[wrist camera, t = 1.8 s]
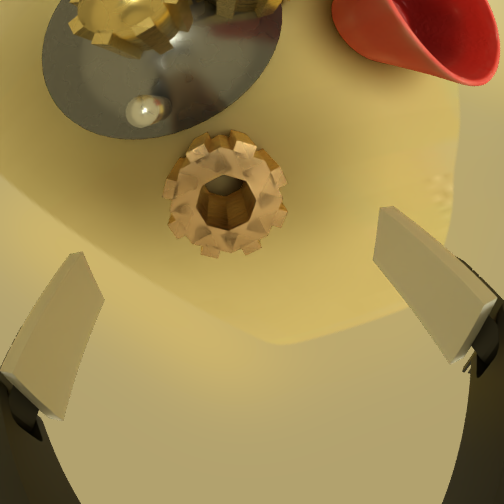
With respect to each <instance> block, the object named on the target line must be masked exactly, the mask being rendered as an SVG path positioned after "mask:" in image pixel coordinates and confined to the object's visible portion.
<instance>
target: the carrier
mask: <svg viewBox="0 0 504 504" xmlns="http://www.w3.org/2000/svg"><path fill="white" fill-rule="evenodd" d="M288 1H290V0H288ZM281 2H282V0H61V1H60V3H59V4H58V6H57V8H56V9H55V11H54V13H53V16H52V18H51V20H50V22H49V25H48V28H47V31H46V34H45V38H44V44H43V51H42V66H43V74H44V79H45V83H46V86H47V88H48V91H49V93H50V95H51V97H52V99H53V100H54V102H55V104H56V105H57V106H58V108H59V109H60V110H61V111H62V112H63V113H64V114H65V115H66V116H67V117H68V118H69V119H71V120H72V121H73V122H74V123H76V124H78V125H79V126H81V127H83V128H84V129H86V130H89V131H91V132H94V133H96V134H99V135H103V136H107V137H111V138H120V139H146V138H154V137H160V136H164V135H169V134H173V133H176V132H179V131H182V130H185V129H188V128H191V127H193V126H195V125H197V124H199V123H201V122H204V121H206V120H208V119H209V118H211V117H213V116H214V115H216V114H218V113H219V112H221V111H223V110H224V109H225V108H227V107H228V106H229V105H231V104H232V103H233V102H235V101H236V100H237V99H238V98H239V97H240V96H241V95H242V94H244V93H245V92H246V91H247V90H248V89H249V88H250V87H251V86H252V84H253V83H254V82H255V81H256V80H257V79H258V78H259V76H260V75H261V73H262V72H263V70H264V69H265V67H266V66H267V64H268V63H269V61H270V59H271V57H272V55H273V53H274V51H275V48H276V45H277V42H278V39H279V36H280V31H281V25H282V7H281Z"/></svg>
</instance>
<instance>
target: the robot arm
mask: <svg viewBox="0 0 504 504" xmlns="http://www.w3.org/2000/svg"><path fill="white" fill-rule="evenodd" d="M373 261H374V262H375V264H376V265H377V266H378V267H379V268H380V270H381V271H382V272H383V273H384V275H385V276H386V277H387V278H388V280H389V281H390V282H391V283H392V285H393V286H394V287H395V288H396V290H397V291H398V292H399V294H400V295H401V296H402V297H403V299H404V300H405V301H406V303H407V304H408V305H409V307H410V308H411V309H412V311H413V312H414V313H415V315H416V316H417V318H418V319H419V320H420V322H421V323H422V324H423V326H424V327H425V329H426V330H427V331H428V333H429V334H430V336H431V337H432V338H433V340H434V342H435V343H436V345H437V346H438V347H439V349H440V350H441V352H442V354H443V355H444V357H445V358H446V360H447V361H448V363H449V364H450V365H451V364H452V363H454V362H456V361H458V360H460V359H462V358H463V357H464V356H465V355H466V353H467V352H468V350H469V349H470V347H471V346H472V347H473V349H474V350H475V351H474V353H473V354H472V356H471V357H470V359H469V360H468V362H467V363H466V365H465V366H464V368H463V372H465V371H466V370H467V368H468V367H469V366H470V365H471V369H470V370H469V372H468V373H470V374H471V375H470V387H469V397H468V405H467V412H466V418H465V424H464V429H463V434H462V440H461V444H460V448H459V452H458V456H457V460H456V463H455V467H454V470H453V474H452V477H451V480H450V483H449V486H448V489H447V492H446V494H445V497H444V500H443V502H442V504H504V300H503V299H502V298H501V297H500V296H499V295H498V294H497V293H496V292H495V291H494V290H493V289H492V288H491V287H490V286H489V285H488V284H487V283H486V282H485V281H484V280H483V279H482V278H481V277H479V275H478V274H477V273H476V272H475V271H474V270H472V268H471V267H470V266H469V265H468V264H467V263H466V262H464V261H463V260H461V259H460V258H458V257H456V256H454V255H453V254H452V253H451V252H450V251H449V250H447V249H446V248H445V247H444V246H443V245H442V244H441V243H439V242H438V241H437V240H436V239H435V238H433V237H432V236H431V235H430V234H429V233H427V232H426V231H425V230H424V229H422V228H421V227H420V226H419V225H417V224H416V223H415V222H414V221H412V220H411V219H410V218H408V217H407V216H406V215H404V214H403V213H402V212H400V211H399V210H398V209H396V208H395V207H394V206H391V207H381V208H380V209H379V219H378V227H377V235H376V242H375V249H374V256H373ZM103 303H104V298H103V295H102V293H101V291H100V289H99V287H98V285H97V283H96V281H95V279H94V277H93V275H92V272H91V270H90V268H89V265H88V263H87V261H86V259H85V256H84V254H83V252H78V253H73V254H70V255H69V256H68V257H67V259H66V260H65V261H64V263H63V264H62V266H61V267H60V268H59V270H58V271H57V273H56V274H55V275H54V277H53V278H52V279H51V281H50V282H49V284H48V285H47V287H46V288H45V290H44V291H43V293H42V294H41V296H40V297H39V299H38V301H37V302H36V304H35V305H34V307H33V309H32V310H31V312H30V314H29V315H28V317H27V319H26V320H25V322H24V324H23V325H22V327H21V328H20V330H19V332H18V333H17V335H16V338H15V339H14V341H13V343H12V346H11V347H10V349H9V351H8V353H7V355H6V357H5V359H4V361H3V363H2V365H1V367H0V504H81V503H80V502H79V500H78V498H77V496H76V494H75V493H74V491H73V489H72V487H71V485H70V483H69V482H68V480H67V478H66V476H65V474H64V472H63V470H62V468H61V466H60V463H59V461H58V459H57V457H56V455H55V452H54V450H53V447H52V445H51V442H50V440H49V437H48V435H47V432H46V429H45V426H44V424H43V421H42V420H41V418H40V417H39V416H38V415H37V414H38V411H39V410H40V411H41V412H43V413H44V414H45V415H46V416H47V417H48V418H51V419H56V420H60V421H63V420H64V417H65V413H66V409H67V405H68V401H69V398H70V394H71V390H72V387H73V384H74V381H75V378H76V375H77V372H78V368H79V365H80V362H81V359H82V357H83V354H84V351H85V348H86V345H87V343H88V340H89V337H90V335H91V332H92V330H93V327H94V325H95V322H96V320H97V317H98V314H99V312H100V310H101V307H102V305H103Z"/></svg>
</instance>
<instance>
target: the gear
mask: <svg viewBox="0 0 504 504" xmlns="http://www.w3.org/2000/svg"><path fill="white" fill-rule="evenodd" d="M256 147H257V146H256V145H255V144H254V143H253V142H252V141H251V139H250V138H249V137H248V136H247V135H246V134H244V133H241V132H238V131H234V130H231V132H230V135H229V137H227V136H223V135H218V136H216V137H214V138H212V139H211V137H210V136H209V134H208V132H207V133H205V134H203V135H201V136H199V137H197V138H196V139H194V141H193V142H192V144H191V145H190V147H189V149H188V150H187V152H186V156H187V157H186V159H185V158H181V157H180V158H179V159H178V161H177V163H176V164H175V166H174V167H173V169H172V170H171V172H170V174H169V175H168V177H167V179H166V182H165V186H164V191H163V195H162V197H163V198H167V199H171V200H172V203H171V207H170V212H171V217H170V219H169V222H168V226H169V228H170V229H171V231H172V232H173V234H174V235H175V236H176V238H177V239H179V238H181V237H183V236H185V235H186V236H187V237H188V239H189V240H190V242H191V243H192V244H195V245H199V246H201V255H205V256H209V257H214V258H218V257H219V254H220V250H221V251H225V252H229V253H232V252H234V251H236V250H238V249H241V248H242V250H243V252H244V253H245V255H247V254H250V253H252V252H254V251H256V250H258V249H260V248H262V247H261V244H260V241H259V239H261V238H263V237H266V236H268V234H269V231H270V229H271V227H272V226H276V227H279V228H281V227H282V225H283V222H284V220H285V218H286V215H287V213H288V211H287V210H286V208H285V206H284V205H283V203H282V200H283V197H282V195H281V193H280V191H279V189H278V188H280V187H282V186H284V185H286V184H288V183H287V181H286V179H285V176H284V174H283V172H282V170H281V168H280V166H279V165H278V164H277V163H276V162H275V161H274V160H273V159H272V158H271V157H270V155H269V154H268V153H267V152H266V151H265V150H264V149H261V150H259V151H257V150H256ZM223 174H224V175H227V176H231V177H234V178H238V179H241V180H244V181H243V183H242V186H241V189H240V190H238V191H236V192H234V193H232V194H230V195H228V196H226V197H225V196H221V195H218V194H214V193H210V192H209V191H208V189H207V188H206V186H205V184H206V183H208V182H210V181H212V180H213V179H215V178H217V177H219V176H221V175H223Z"/></svg>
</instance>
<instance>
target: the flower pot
mask: <svg viewBox="0 0 504 504" xmlns="http://www.w3.org/2000/svg"><path fill="white" fill-rule="evenodd" d="M332 18H333V22H334V24H335V27H336V29H337V31H338V32H339V34H340V36H341V37H342V38H343V39H344V41H345V42H346V43H347V44H348V45H349V46H350V47H351V48H352V49H353V50H355V51H356V52H358V53H359V54H361V55H362V56H364V57H366V58H368V59H371V60H373V61H377V62H381V63H386V64H390V65H394V66H398V67H402V68H406V69H410V70H414V71H418V72H422V73H426V74H430V75H433V76H437V77H440V78H443V79H446V80H450V81H453V82H456V83H460V84H463V85H468V86H480V85H484V84H486V83H487V82H488V81H490V80H491V79H492V77H493V75H494V74H495V72H496V70H497V68H498V64H499V57H500V40H499V34H498V29H497V25H496V21H495V18H494V15H493V13H492V10H491V8H490V6H489V3H488V1H487V0H333V2H332Z"/></svg>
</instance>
